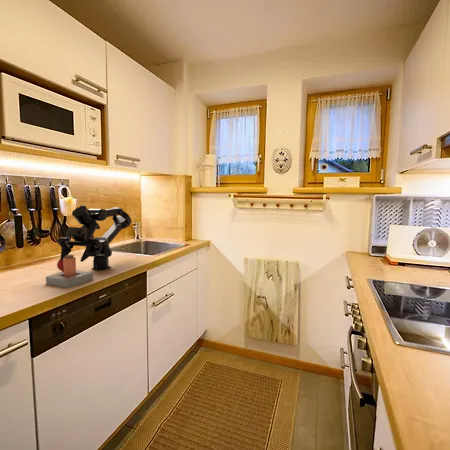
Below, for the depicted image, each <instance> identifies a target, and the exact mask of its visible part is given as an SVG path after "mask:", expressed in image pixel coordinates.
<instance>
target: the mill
mask: <svg viewBox="0 0 450 450" xmlns="http://www.w3.org/2000/svg"><path fill="white" fill-rule="evenodd" d="M76 263H77V262H76V257H75V255H74V254H68V255H66V256H65V258H63V266H64V277H72V276H75V275H76V270H77V268H76V267H77V265H76Z"/></svg>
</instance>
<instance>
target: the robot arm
mask: <svg viewBox="0 0 450 450" xmlns="http://www.w3.org/2000/svg"><path fill="white" fill-rule="evenodd" d="M71 215H72V216H73V217H74V219H75V220H76V221H77V222H78V224H79V225H81V226H79V227H75V226H68V229H67V232H66V235H67V236H71V239H73V240H71V239H70V238H69V237H58V239H57V240H56V244H57V245H59V246H60V248H61V250H60V251H61V252H60V258H59V260H61V261H63V258H65V256H66V255H70V254H71V252H72V250H73V248H74V247H78V246H79V247H85V250H84V252H83V254H82V255H81V258H80V259H79V260H80V262H81V263H82V262H84V261H86V260H87V259H88V258H91V257H93V261H92V262H93V263H92V265H93V266H92V267H91V269H92V270H95V271H103V270H106V269H110V268H112V266H111V265H109V258H110V257H111V256H112V255H113V254H112V253H113V250H112V249H111V248H110V244H111V242H112V241H113V240H114V239H115V238H116V237H117V236H118V234H119V233H120V232H121V231H122V230H123V229H126V228H128V227H130V226H131V224H132V218H131V216H130V215H129V214H128V213H127V212H126V211H124V210H123V208H121V207H112V208H106V209H105V208H104V209H103V208H87V206H86V205H84V204H83V205H80V206H79V207H77V208H75V209H74V210H72V212H71ZM109 217H112V221H113V224H112V225H111V226H110V228H108V230H107V231H105V232H104V233H103V234H102V236H100V237H99V236H96V237H95V236H94V234H95V233H96V230H100V229H101V227H100V223H98V222H103V221H105V220H106V219H107V218H109Z"/></svg>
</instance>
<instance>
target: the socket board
mask: <svg viewBox="0 0 450 450" xmlns="http://www.w3.org/2000/svg"><path fill="white" fill-rule="evenodd" d="M92 280H94V272H91V271H84V270H78V269H76V275H75V276H72V277H64V272H62V271H61V272H59V273H58V272H57V273H55V274H51V275H47V276H45V284H46V285H49V286H54V287H55V286H56V287H60V288H65V289H69V288H72V287H75V286H77V285H81V284H83V283H87V282H89V281H92Z"/></svg>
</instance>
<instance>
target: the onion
mask: <svg viewBox="0 0 450 450" xmlns="http://www.w3.org/2000/svg"><path fill="white" fill-rule="evenodd" d="M56 267H57V269H58V270H59V271H61V272H64V266H63V261H61V260H60V259H58V261H57V263H56Z"/></svg>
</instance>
